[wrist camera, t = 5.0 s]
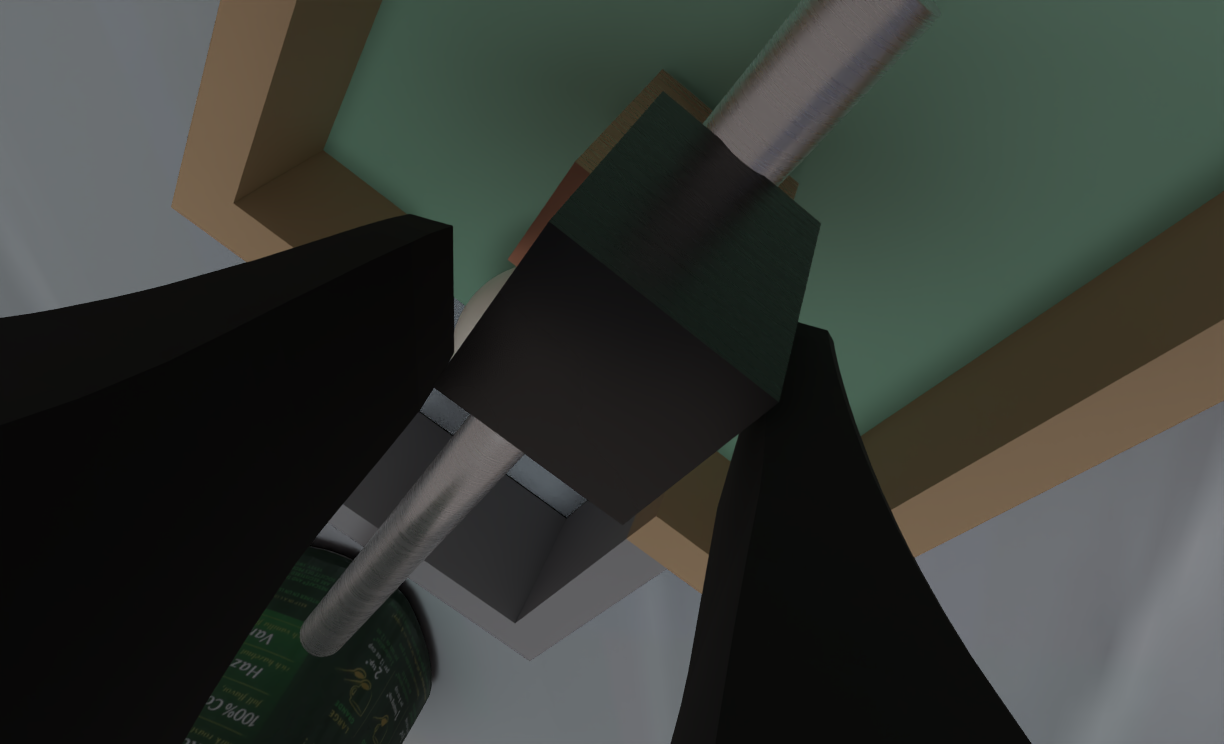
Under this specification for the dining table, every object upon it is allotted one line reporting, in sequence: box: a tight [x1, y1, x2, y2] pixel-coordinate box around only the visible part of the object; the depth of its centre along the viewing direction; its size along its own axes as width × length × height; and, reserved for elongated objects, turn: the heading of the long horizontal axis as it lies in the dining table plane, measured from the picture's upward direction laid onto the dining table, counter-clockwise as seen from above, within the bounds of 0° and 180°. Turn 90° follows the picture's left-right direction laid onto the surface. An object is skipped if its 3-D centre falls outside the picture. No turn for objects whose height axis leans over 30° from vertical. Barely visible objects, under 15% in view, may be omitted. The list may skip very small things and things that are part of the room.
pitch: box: [171, 0, 1224, 661], centre depth 14 cm, size 29×16×4 cm, turn 146°
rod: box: [300, 0, 941, 657], centre depth 14 cm, size 20×3×8 cm, turn 146°
